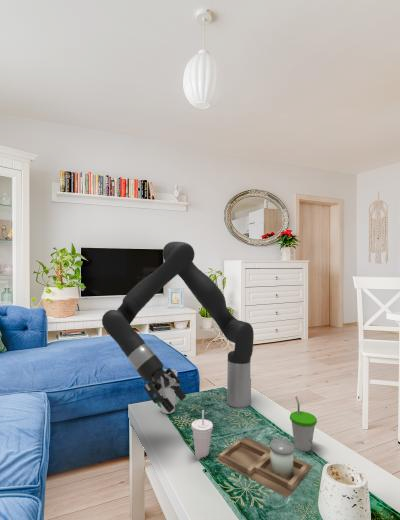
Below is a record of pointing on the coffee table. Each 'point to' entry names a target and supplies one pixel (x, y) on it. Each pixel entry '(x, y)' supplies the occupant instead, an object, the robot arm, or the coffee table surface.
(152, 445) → the coffee table surface
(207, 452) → the smoothie
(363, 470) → the coffee table surface
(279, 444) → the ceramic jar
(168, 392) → the drinking glass
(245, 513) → the coffee table surface
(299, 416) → the cup
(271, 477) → the walnut tray
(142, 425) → the coffee table surface
